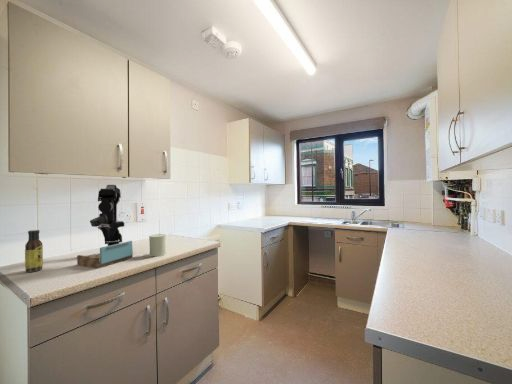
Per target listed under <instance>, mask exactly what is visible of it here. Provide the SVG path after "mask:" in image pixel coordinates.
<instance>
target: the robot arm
mask: <svg viewBox="0 0 512 384" xmlns="http://www.w3.org/2000/svg"><path fill="white" fill-rule="evenodd" d="M121 194H122V193H121V189H120V188H118V187H117V185H116V184H106V186H105V188H100V190H98V195H97V196H98V197H97V201H98V202H99V204H98V206H97V208H98V211H100V213H99V214H98V217H95V218H93V219H90V220H89V223H90V225H91V227H93V228H94V227H96V228H97V229H98V230H100V231H101V233H102V236H103V238H104V245H107V246H110V245H115V244H119V243H123V235H122V234H121V233H120V230H119V228H123V227H125V222H124V221H122V220H118V216H117V215H118V213H117V212H118V204H119V202H120V199H121V196H122V195H121Z"/></svg>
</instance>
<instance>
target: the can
mask: <svg viewBox="0 0 512 384" xmlns="http://www.w3.org/2000/svg"><path fill="white" fill-rule="evenodd" d="M148 241H149V257H152V256H156V257H162V256H165V255H166V254H167V251H166V250H167V249H166V247H167V245H166V234H164V233H156V234H151V235H149V240H148ZM164 254H165V255H164ZM161 255H162V256H161Z"/></svg>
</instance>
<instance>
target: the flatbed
mask: <svg viewBox="0 0 512 384" xmlns="http://www.w3.org/2000/svg"><path fill="white" fill-rule="evenodd" d="M133 256H134V255H133V249H132V255H130V256H127V257H124V258H120V259H117V260H113V261H110V262H107V263H103V264H100V255H96V256H89V255H83V254H82V255H80V254H78V255H77V256H76V261H77V262H76V263H77V264H76V265H77V266H81V267H88V268H93V269H100V268H102V267H103V268H104V267H107V266H109V265H110V266H111V265H113V264H116V263H119V262H122V261H125V260H129V259H132V258H133Z"/></svg>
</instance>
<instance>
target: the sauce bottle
mask: <svg viewBox="0 0 512 384" xmlns="http://www.w3.org/2000/svg"><path fill="white" fill-rule="evenodd" d="M27 235H28V240H27V242H26V243H25V250H24V266H25V267H24V269H25V271H24V272H25V273H34V272H38V271H41V270H43V266H44V262H43V261H44V256H43V253H44V252H43V251H44V249H43V242H42V241H41V240H40V229H31V230H30V229H29V230H28V231H27Z"/></svg>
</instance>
